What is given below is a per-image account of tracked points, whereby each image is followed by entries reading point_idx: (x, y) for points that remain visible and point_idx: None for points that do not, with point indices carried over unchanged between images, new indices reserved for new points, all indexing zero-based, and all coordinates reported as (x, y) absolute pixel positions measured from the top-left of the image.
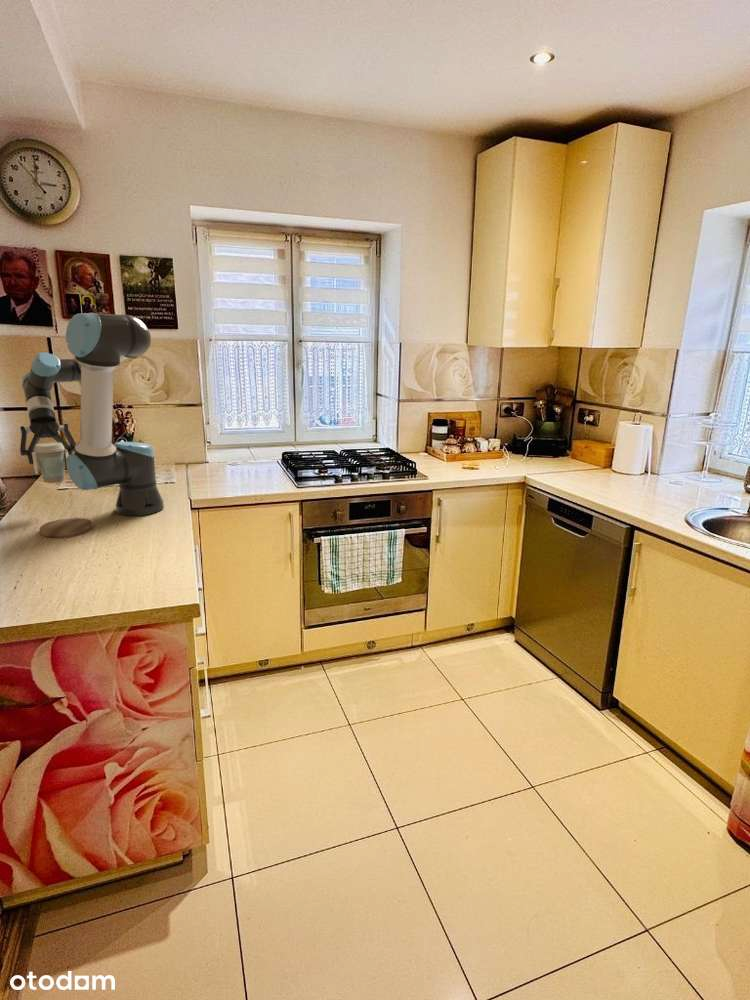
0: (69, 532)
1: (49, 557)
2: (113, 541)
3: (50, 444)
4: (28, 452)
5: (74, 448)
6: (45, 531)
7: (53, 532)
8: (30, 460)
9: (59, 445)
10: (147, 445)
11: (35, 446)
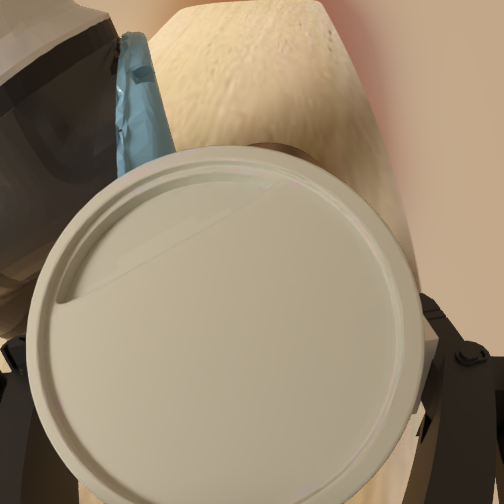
0: (258, 144)
1: (298, 79)
2: (187, 110)
3: (164, 347)
4: (468, 341)
5: (6, 374)
6: (314, 163)
7: (294, 151)
8: (421, 301)
9: (83, 215)
10: None
11: (413, 281)
